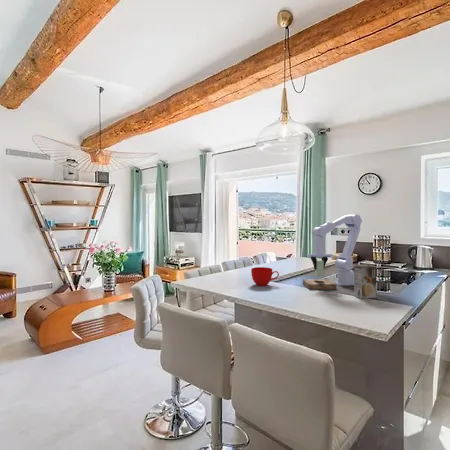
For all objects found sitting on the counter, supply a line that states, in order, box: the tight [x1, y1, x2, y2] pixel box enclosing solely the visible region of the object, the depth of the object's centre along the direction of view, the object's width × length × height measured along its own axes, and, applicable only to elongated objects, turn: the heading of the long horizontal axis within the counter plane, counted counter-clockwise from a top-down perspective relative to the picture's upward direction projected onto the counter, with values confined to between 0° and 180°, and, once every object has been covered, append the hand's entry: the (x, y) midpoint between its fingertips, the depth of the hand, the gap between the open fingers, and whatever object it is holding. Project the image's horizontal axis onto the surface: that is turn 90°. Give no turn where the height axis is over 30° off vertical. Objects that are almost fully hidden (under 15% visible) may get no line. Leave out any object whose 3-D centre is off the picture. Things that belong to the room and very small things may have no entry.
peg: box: [314, 259, 325, 277], centre depth 187 cm, size 4×4×9 cm
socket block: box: [302, 278, 338, 290], centre depth 188 cm, size 16×14×3 cm
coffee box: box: [353, 265, 377, 300], centre depth 164 cm, size 9×6×16 cm
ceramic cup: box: [250, 266, 280, 287], centre depth 193 cm, size 13×17×10 cm
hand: (319, 269), depth 188 cm, fingers closed on peg, 4 cm apart
